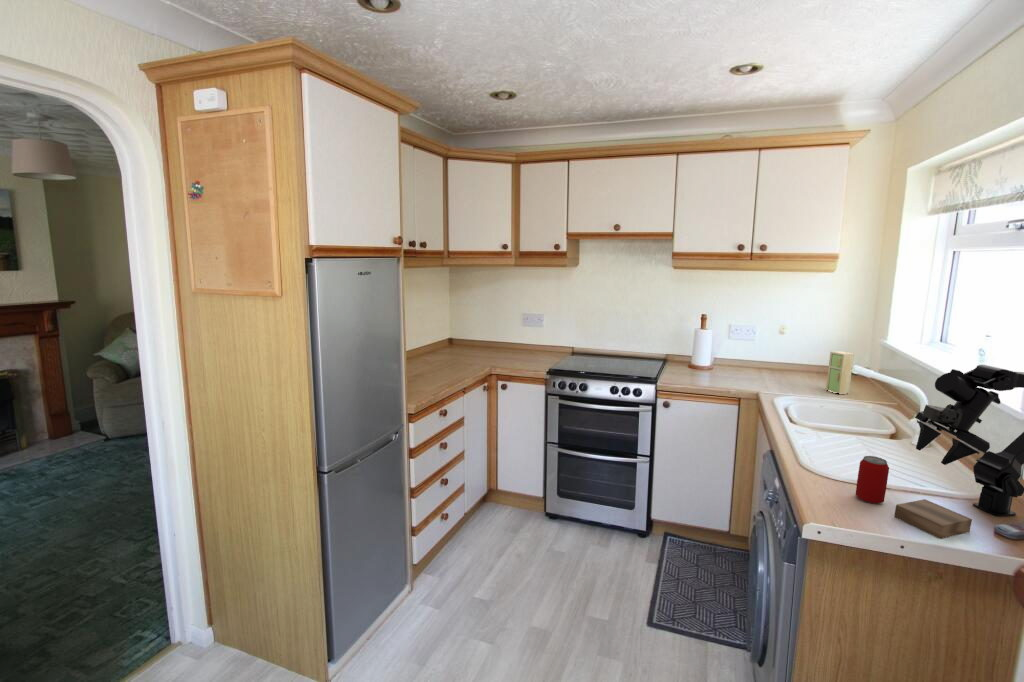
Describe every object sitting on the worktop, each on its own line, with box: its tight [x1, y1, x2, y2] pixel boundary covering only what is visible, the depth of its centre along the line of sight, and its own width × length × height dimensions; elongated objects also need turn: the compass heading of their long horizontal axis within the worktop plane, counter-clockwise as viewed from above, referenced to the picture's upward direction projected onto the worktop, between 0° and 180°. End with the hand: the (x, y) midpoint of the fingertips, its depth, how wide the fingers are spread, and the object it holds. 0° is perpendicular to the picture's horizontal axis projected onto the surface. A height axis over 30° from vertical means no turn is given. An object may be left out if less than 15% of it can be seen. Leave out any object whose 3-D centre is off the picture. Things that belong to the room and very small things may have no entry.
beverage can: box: [855, 455, 890, 505], centre depth 144 cm, size 7×7×12 cm
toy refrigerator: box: [825, 350, 855, 393], centre depth 261 cm, size 8×7×21 cm
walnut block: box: [893, 498, 973, 540], centre depth 132 cm, size 11×11×4 cm
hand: (929, 456), depth 139 cm, fingers open, 9 cm apart
